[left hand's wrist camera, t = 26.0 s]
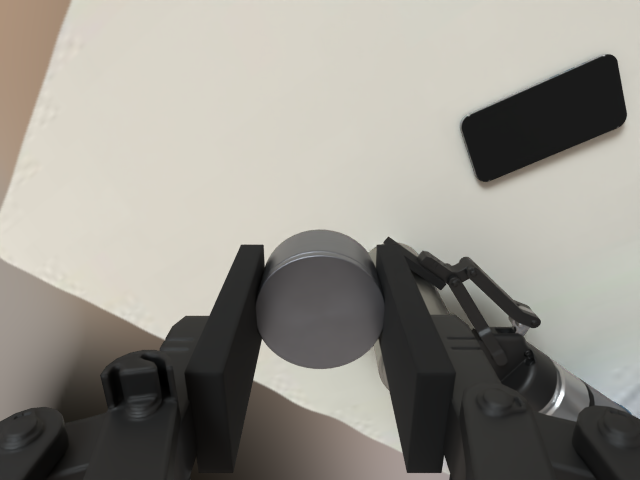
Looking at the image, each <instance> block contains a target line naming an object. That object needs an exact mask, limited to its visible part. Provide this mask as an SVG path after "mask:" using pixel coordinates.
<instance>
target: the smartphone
mask: <svg viewBox="0 0 640 480" xmlns="http://www.w3.org/2000/svg"><path fill="white" fill-rule="evenodd" d="M626 117H627V112H626V106H625V101H624V95H623V90H622V84H621V79H620V73H619V68H618V62H617V59H616V58H615V57H614V56H613V55H609V54H606V55H601V56H598V57H596V58H594V59H592V60H589V61H587V62H585V63H583V64H580V65H578V66H576V67H574V68H571V69H569V70H567V71H565V72H562V73H560V74H558V75H556V76H553V77H551V78H549V79H547V80H544V81H542V82H540V83H538V84H535V85H533V86H531V87H529V88H526V89H524V90H522V91H520V92H517V93H515V94H513V95H511V96H508V97H506V98H504V99H502V100H499V101H497V102H495V103H493V104H490V105H488V106H486V107H484V108H481V109H479V110H477V111H475V112H472V113H470V114H468V115H466V116H465V117H464V118H463V119H462V121H461V123H460V130H461V133H462V136H463V139H464V142H465V145H466V148H467V151H468V154H469V157H470V160H471V163H472V166H473V170H474V173H475V175H476V177H477V178H478V179H479V180H481V181H483V182H488V181H491V180H493V179H496V178H498V177H501V176H503V175H505V174H508V173H510V172H513V171H515V170H517V169H520V168H522V167H525V166H527V165H529V164H532V163H534V162H537V161H539V160H542V159H544V158H546V157H549V156H551V155H554V154H556V153H558V152H561V151H563V150H566V149H568V148H570V147H573V146H575V145H578V144H580V143H583V142H585V141H587V140H590V139H592V138H595V137H597V136H599V135H602V134H604V133H607V132H609V131H611V130H614V129H616V128H618V127H620V126H621V125H622V124H623V123H624V122H625V120H626Z"/></svg>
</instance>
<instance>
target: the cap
mask: <svg viewBox="0 0 640 480" xmlns="http://www.w3.org/2000/svg"><path fill="white" fill-rule="evenodd" d="M384 307H385V300H384V296H383V292H382V289H381V285H380V282H379V278H378V274H377V271H376V267H375V265H374V262H373V260H372V258H371V256H370V255H369V253H368V252H367V251H366V249H365V248H364V247H363V246H362V245H361V244H359V243H358V242H357V241H355V240H354V239H352V238H351V237H349V236H347V235H344V234H342V233H339V232H335V231H330V230H310V231H305V232H301V233H299V234H296V235H294V236H292V237H290V238H288V239H286V240H285V241H284V242H282V243H281V244H280V245H279V246H278V247H277V248H276V249H275V250H274V251H273V253H272V254H271V255H270V257H269V259H268V261H267V263H266V266H265V269H264V273H263V276H262V280H261V284H260V287H259V291H258V294H257V298H256V318H257V329H258V331H259V334H260V335H261V337H262V339H263V341H264V342H265V343H266V345H267V346H268V347H269V348H270V349H271V350H272V351H273V352H274V353H275V354H277V355H278V356H279V357H281V358H283V359H284V360H286V361H288V362H290V363H292V364H295V365H298V366H302V367H306V368H313V369H327V368H334V367H339V366H342V365H345V364H348V363H350V362H352V361H355V360H356V359H358V358H360V357H361V356H362V355H364V354H365V353H366V352H367V351H368V350H369V349H370V348H372V346H373V345H374V344H375V343H376V341H377V340H378V338H379V336H380V335H381V332H382V330H383V322H384Z"/></svg>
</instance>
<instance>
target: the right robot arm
mask: <svg viewBox="0 0 640 480" xmlns="http://www.w3.org/2000/svg"><path fill="white" fill-rule="evenodd" d="M383 243H384V245H399V246H400V248H401V250H402V252H403V255H404V257H405V259H406V261H407V264H408V266H409V268H410V269H411V270H412V271H413V272H415V273H416V274H418V275H419V276H421V277H422V278H424V279H425V280H427V281H428V282H429V283H431V284H432V285H434V286H435V287H437V288H438V289H440V290H442V289H443V287H444V286H445V285H446V284H448V285H449V287H450V288H451V290H452V292H453V293H454V295H455V296H456V298H457V300H458V301H459V303H460V305H461V306H462V308H463V309H464V311H465V313H466V314H467V316H468V318H469V319H470V321H471V322H472V324H473V326H474V327H475V329H476V330H475V329H474V328H473V329H472V330H471V331H472V333H473V335H474V336H475V340H477V341H478V343H479V345H480V347H481V350H483V352H484V354H485V355H486V357H487V359H488V361H489V362H490V364H491V366H492V368H493V369H494V371H495V373H496V375H497V376H498V378H499V380H500V381H501V383H502V384H503V385H505V386H507V387H509V388H511V389H513V390H515V391H517V392H518V393H519V394H520V395H522V396H523V397H524V398H525V399H526V400H527V401H528V403H529V405H530V406H531V408H532V410H534V411H536V412H539V413H543V414H546V415H550V416H554V417H558V418H563V419H567V420H571V421H575V422H576V421H577V418H578V414H579V413H580V412H581V411H582V410H583V409H584V408H585V407H590V406H595V405H598V406H608V407H612V408H616V409H619V410H622V411H625V412H627V413H629V414H631V412H629V411H628V410H627V409H626V408H624V407H623V406H621V405H619V404H617V403H616V402H613V401H612V400H610V399H609V398H607V397H606V396H604V395H603V394H601V393H600V392H598V391H597V390H595V389H594V388H593V387H591V386H590V385H588V384H587V383H585V382H584V381H582V380H581V379H579V378H578V377H576V376H575V375H573V374H572V373H571V372H569V371H568V370H566V369H565V368H564V367H562V366H561V365H559V364H558V363H557V362H555V361H553V360H551V359H550V358H549V357H548V356H547V355H545V354H544V353H542V352H541V351H539V350H538V349H537V348H535V347H534V346H532V345H531V344H529V343H528V342H526V340H525V338H524V337H523V336H524V335H525V333H526V332H527V331H528V329H529V328H530V327H531V328H536V327H538V326H539V325H540V323H541V321H540V319H539V318H538V317H537V316H536V314H535V313H534V312H533V311H532V310H531V309H530V307H529V306H527V305H525V304H522V303H520V302H517V301H515V300H513V299H512V298H511V297H510V296H509V295H508V294H507V293H505V292H504V291H503V290H502V289H501V288H500V287H499V286H498V285H497V284H496V283H495V282H494V281H493V280H492V279H491V278H490V277H489V276H488V275H487V274H486V273H485V272H484V271H483V270H482V269H481V268H480V267H479V266H477V265H476V264H475V263H474V262H473V261H472V260H471V259H470V258H469V257H463V258H461V260H460V262H459V263H458V264H456V265H454V266H451V265H450V264H445V263H443V262H442V261H440V260H439V259H437V258H436V257H435V256H433V255H432V254H430V253H429V252H426V251H422V252H421V253H420V254H419V256H418V257H417V256H415V255H414V254H413V253H411V252H410V251H408V250H407V249H405V248H404V247H403V246H401V245H400V244H398V243H397V242H395V241H394V240H392V239H391V238H390V237H388V238H387V239H386V240H385V241H384V242H383ZM469 278H470V279H471V280H472V281H473V282H474V283H475V284H476V285H477V286H478V287H479V288H480V289H481V290H482V291H483V292H484V293H485V294H486V295H487V296H489V297H490V298H491V299H492V300H493V301H494V302H495V303H496V304H497V305H498V306H499V307H500V308H501V309H502V310H503V311H504V312H505V313H507V314H508V315H509V317H508V319H509V320H510V322H511V323H512V325H513V326H512V327H489V326H488V325H487V323H486V321H485V320H484V318H483V316H482V315H481V313H480V311H479V310H478V308H477V306H476V305H475V303H474V301H473V300H472V298H471V296H470V295H469V293H468V291H467V290H466V288H465V286H464V285H463V283H462V282H464V281H466V280H467V279H469ZM373 346H374V345H373ZM631 415H632V414H631Z"/></svg>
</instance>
